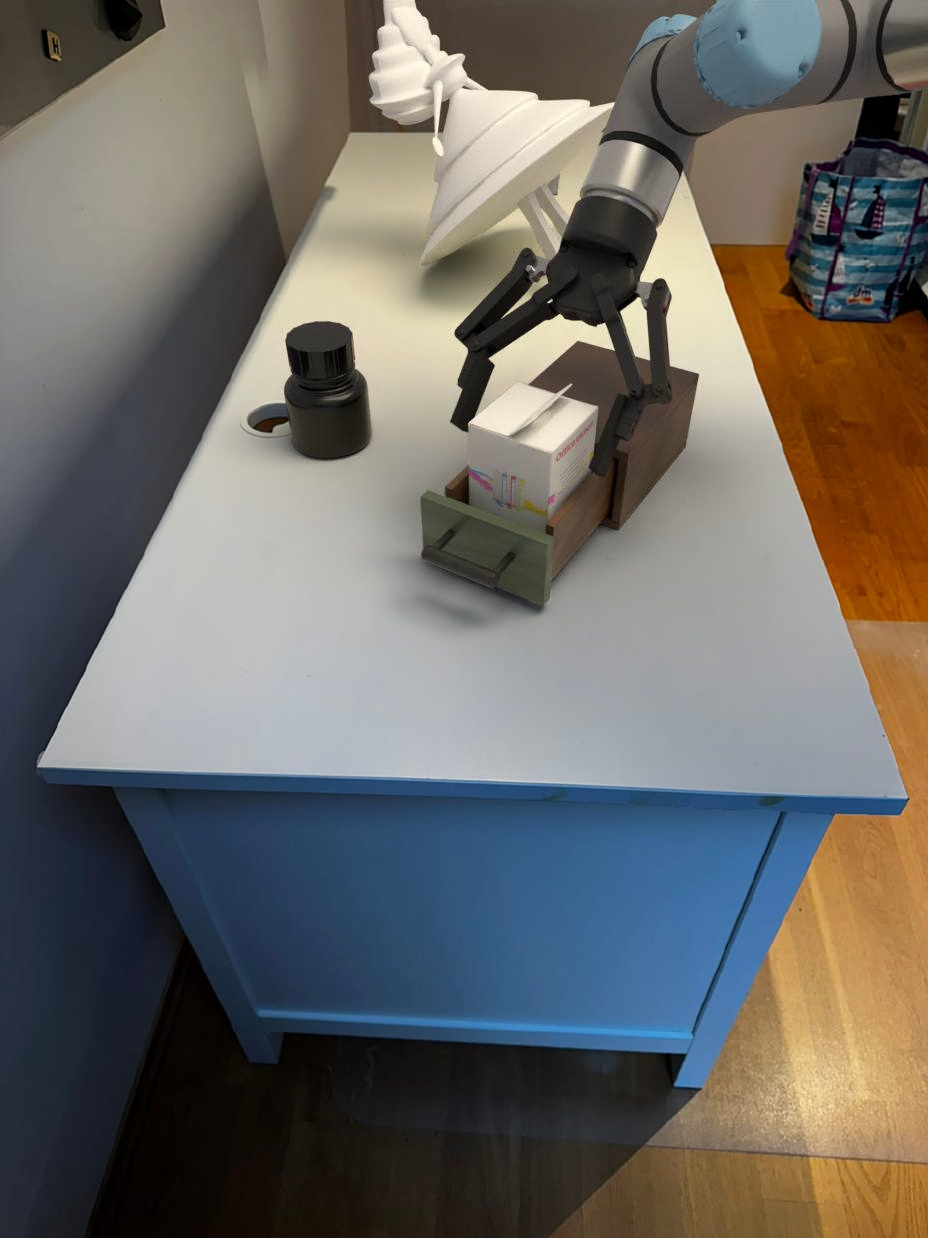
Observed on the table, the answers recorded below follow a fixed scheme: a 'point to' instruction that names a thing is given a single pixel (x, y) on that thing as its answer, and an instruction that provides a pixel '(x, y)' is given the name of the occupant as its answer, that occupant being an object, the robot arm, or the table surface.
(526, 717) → the table surface
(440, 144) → the figurine
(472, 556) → the drawer
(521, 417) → the ink box
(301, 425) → the ink bottle
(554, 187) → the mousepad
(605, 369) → the cabinet
